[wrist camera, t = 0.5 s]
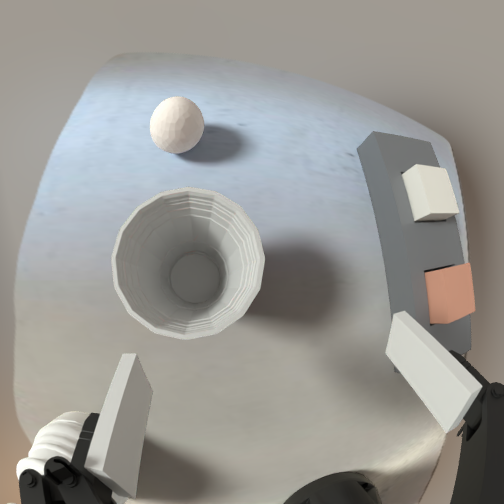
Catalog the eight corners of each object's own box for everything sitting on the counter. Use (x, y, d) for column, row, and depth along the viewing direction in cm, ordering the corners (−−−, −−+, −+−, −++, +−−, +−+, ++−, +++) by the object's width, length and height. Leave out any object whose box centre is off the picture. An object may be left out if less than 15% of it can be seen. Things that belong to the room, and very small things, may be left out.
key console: (448, 347, 33) (471, 349, 28) (394, 371, 31) (417, 378, 26) (412, 155, 38) (430, 142, 33) (356, 148, 36) (373, 131, 31)
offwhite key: (440, 221, 32) (459, 213, 28) (411, 222, 31) (430, 213, 27) (428, 179, 33) (445, 168, 29) (398, 176, 32) (416, 164, 28)
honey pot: (52, 462, 21) (-9, 520, 3) (54, 394, 24) (-37, 439, 6) (133, 500, 22) (105, 586, 4) (145, 436, 25) (101, 534, 7)
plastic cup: (221, 214, 31) (229, 162, 20) (259, 302, 30) (291, 300, 18) (133, 249, 29) (92, 216, 17) (168, 340, 28) (142, 362, 16)
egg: (172, 173, 31) (163, 136, 24) (146, 141, 32) (134, 102, 24) (213, 146, 33) (216, 106, 25) (186, 116, 33) (183, 76, 25)
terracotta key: (454, 312, 29) (475, 311, 25) (426, 323, 28) (448, 323, 24) (449, 267, 30) (469, 262, 27) (420, 273, 29) (442, 268, 26)
